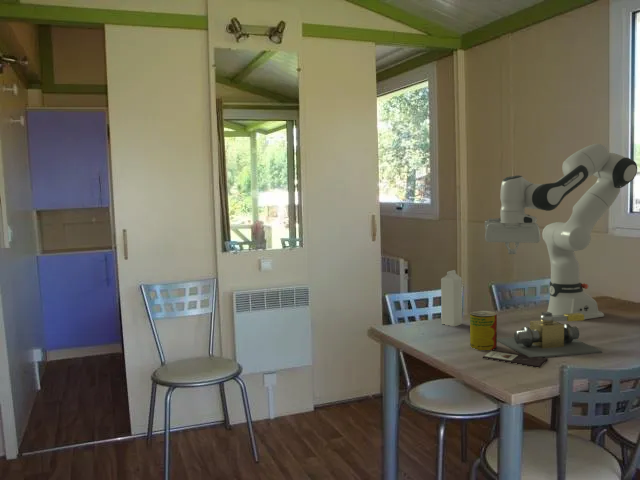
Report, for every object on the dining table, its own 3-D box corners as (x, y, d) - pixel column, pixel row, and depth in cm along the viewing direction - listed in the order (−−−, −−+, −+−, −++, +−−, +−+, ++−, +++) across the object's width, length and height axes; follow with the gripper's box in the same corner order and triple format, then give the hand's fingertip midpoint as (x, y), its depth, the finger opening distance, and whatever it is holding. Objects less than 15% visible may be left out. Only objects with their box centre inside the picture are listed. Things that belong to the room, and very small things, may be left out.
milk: (462, 324, 235) (462, 270, 233) (453, 326, 231) (453, 272, 229) (449, 321, 239) (449, 268, 237) (441, 324, 235) (440, 270, 233)
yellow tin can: (491, 352, 196) (491, 317, 195) (466, 348, 202) (465, 314, 200) (500, 345, 203) (500, 312, 202) (476, 342, 209) (475, 309, 207)
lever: (544, 323, 198) (544, 314, 198) (538, 320, 202) (538, 311, 201) (585, 320, 200) (585, 311, 200) (578, 318, 204) (578, 309, 203)
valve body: (568, 338, 207) (569, 318, 206) (582, 345, 199) (582, 323, 198) (511, 343, 203) (511, 322, 202) (523, 350, 195) (523, 328, 194)
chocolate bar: (538, 366, 179) (482, 357, 190) (538, 369, 179) (482, 359, 190) (547, 358, 186) (493, 349, 197) (547, 361, 186) (493, 352, 197)
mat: (561, 334, 214) (561, 333, 214) (601, 352, 192) (601, 350, 192) (496, 340, 210) (496, 338, 210) (529, 358, 188) (529, 357, 187)
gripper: (483, 218, 224) (483, 254, 225) (539, 218, 215) (539, 255, 217) (485, 217, 229) (485, 252, 231) (540, 217, 221) (540, 253, 222)
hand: (512, 254), depth 224 cm, fingers closed
